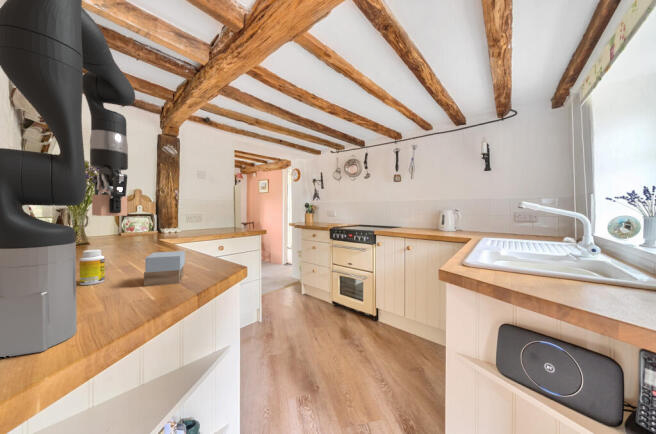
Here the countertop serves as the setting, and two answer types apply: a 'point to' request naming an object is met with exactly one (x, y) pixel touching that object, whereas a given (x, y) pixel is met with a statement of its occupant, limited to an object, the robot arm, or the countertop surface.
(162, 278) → the lower block
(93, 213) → the terracotta cube
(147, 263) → the upper block
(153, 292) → the countertop surface
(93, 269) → the supplement bottle
